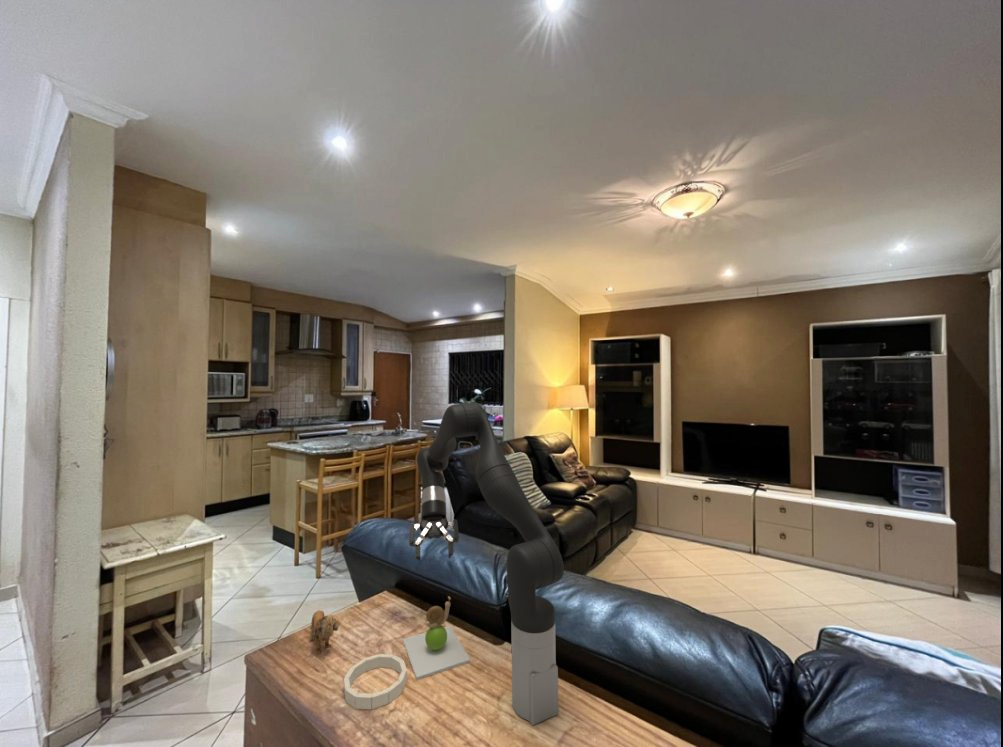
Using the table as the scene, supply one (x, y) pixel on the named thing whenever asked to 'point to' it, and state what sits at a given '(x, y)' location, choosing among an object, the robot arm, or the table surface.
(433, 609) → the snail figurine
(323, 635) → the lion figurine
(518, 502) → the robot arm
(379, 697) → the ceramic ring
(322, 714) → the table surface
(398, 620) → the table surface
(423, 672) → the rubber mat
